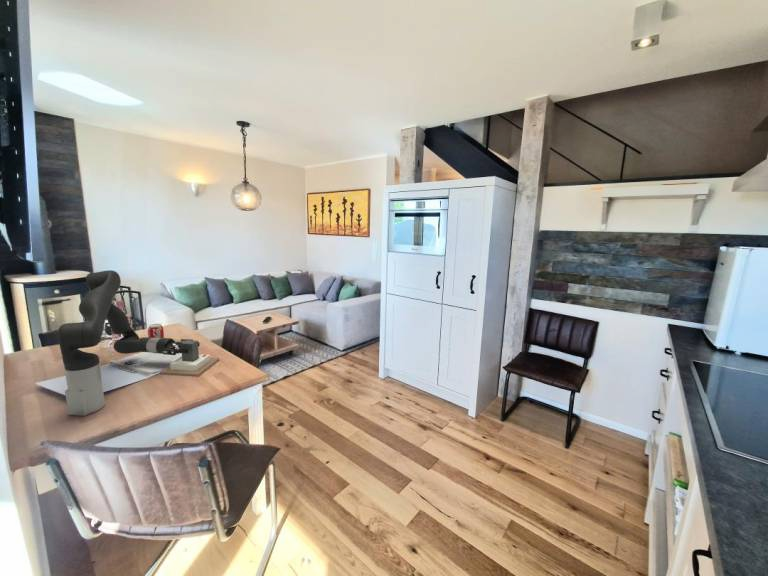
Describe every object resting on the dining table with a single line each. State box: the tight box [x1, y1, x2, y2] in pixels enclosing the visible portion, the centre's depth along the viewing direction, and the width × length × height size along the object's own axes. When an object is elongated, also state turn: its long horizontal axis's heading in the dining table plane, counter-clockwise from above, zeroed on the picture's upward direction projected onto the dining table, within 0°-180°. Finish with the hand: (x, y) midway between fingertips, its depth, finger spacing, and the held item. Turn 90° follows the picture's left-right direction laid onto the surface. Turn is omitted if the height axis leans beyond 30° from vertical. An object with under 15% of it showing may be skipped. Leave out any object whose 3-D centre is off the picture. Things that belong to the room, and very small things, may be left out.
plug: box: [181, 339, 200, 362], centre depth 154 cm, size 4×5×12 cm
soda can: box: [147, 323, 165, 338], centre depth 177 cm, size 7×7×12 cm
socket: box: [159, 353, 220, 377], centre depth 155 cm, size 18×18×4 cm
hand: (193, 347), depth 154 cm, fingers open, 8 cm apart
